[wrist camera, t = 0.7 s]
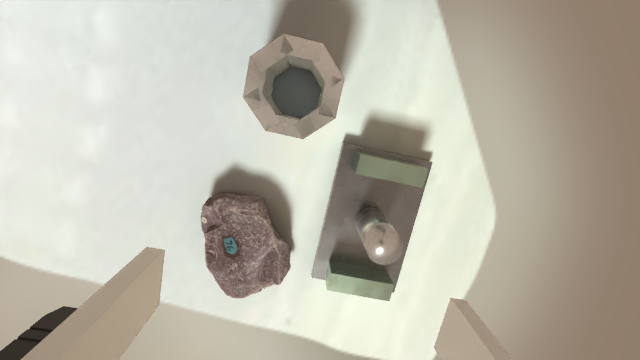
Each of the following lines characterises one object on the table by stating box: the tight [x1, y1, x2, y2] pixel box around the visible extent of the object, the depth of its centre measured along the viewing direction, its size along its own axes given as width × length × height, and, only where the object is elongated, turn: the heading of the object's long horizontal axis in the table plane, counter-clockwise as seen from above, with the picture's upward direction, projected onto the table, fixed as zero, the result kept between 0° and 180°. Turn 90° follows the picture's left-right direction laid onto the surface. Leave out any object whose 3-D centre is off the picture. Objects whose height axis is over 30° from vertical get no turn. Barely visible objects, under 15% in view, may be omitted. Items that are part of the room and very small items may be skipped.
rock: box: [201, 193, 290, 298], centre depth 35 cm, size 8×11×5 cm
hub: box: [243, 34, 344, 139], centre depth 30 cm, size 8×8×7 cm
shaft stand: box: [312, 142, 432, 301], centre depth 33 cm, size 16×10×8 cm, turn 167°
